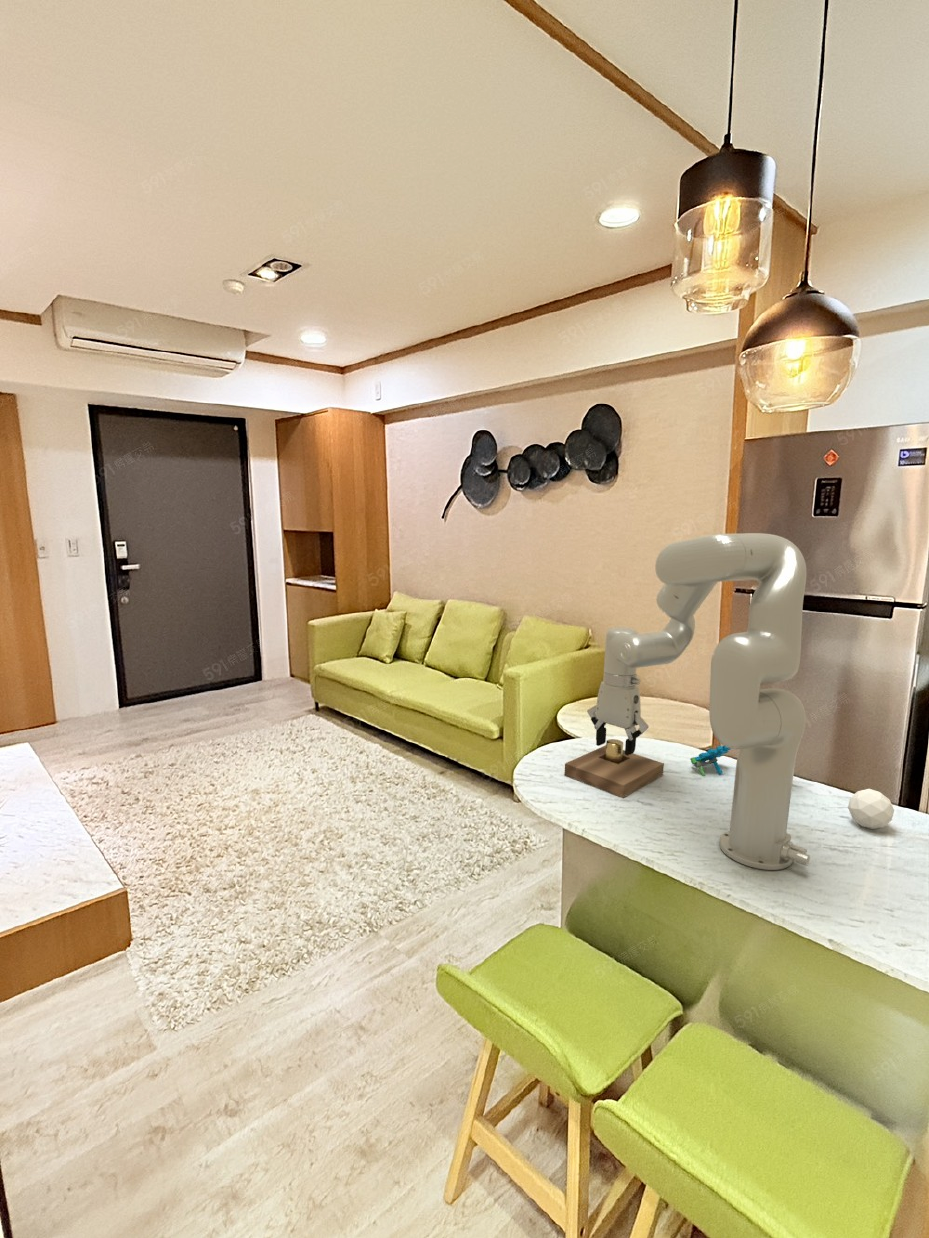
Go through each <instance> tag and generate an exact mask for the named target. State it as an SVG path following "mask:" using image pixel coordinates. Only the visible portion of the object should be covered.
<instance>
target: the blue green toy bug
mask: <svg viewBox="0 0 929 1238" xmlns="http://www.w3.org/2000/svg"><path fill="white" fill-rule="evenodd" d="M730 750H732V749H731V748H728V747H726V746H724V745H718V746H716V748H714V749H713V748H710V749H707V751H706V752H700V753H699V754H698V756H693V757H691V758H690V759H689V760H690V762H691V765H693V766H695V768H698V770H699V772H700V774H701V776H702V777H704V776H706V773H705V772H704V769H703V767H704V766H708V765H710V764H712V765H713V767H714V768H715V770H716V772H717V773H718V775H722V774H723V773H724V772H723V771H722V769H721V766H720V764H719V763H718V761H719V760H718V759H717V758H721V757H723V755H725V754H728V753H729V751H730Z"/></svg>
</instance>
